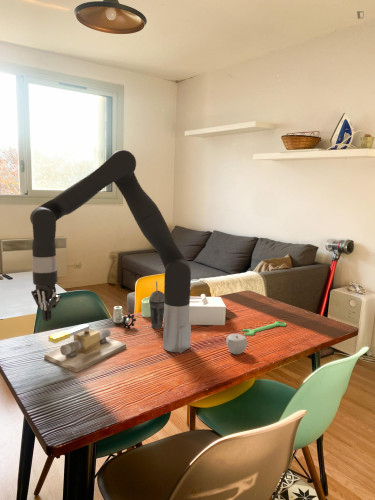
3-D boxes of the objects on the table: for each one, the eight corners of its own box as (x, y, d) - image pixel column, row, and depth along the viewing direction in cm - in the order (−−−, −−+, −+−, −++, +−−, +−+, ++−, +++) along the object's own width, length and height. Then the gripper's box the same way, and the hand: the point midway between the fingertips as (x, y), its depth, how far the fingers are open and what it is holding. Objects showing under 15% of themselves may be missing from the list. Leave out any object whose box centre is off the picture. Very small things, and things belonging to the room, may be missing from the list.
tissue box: (224, 325, 164) (226, 301, 162) (167, 325, 162) (168, 300, 160) (219, 314, 178) (220, 292, 176) (167, 313, 176) (167, 291, 174)
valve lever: (85, 330, 132) (85, 322, 132) (91, 332, 130) (91, 324, 130) (48, 344, 119) (48, 336, 119) (54, 347, 118) (54, 338, 117)
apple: (233, 359, 131) (234, 341, 130) (220, 350, 138) (221, 333, 137) (251, 355, 135) (252, 337, 134) (238, 346, 142) (239, 330, 141)
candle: (147, 318, 168) (148, 300, 167) (139, 315, 171) (139, 298, 169) (154, 315, 172) (154, 298, 171) (146, 313, 175) (146, 296, 174)
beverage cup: (168, 325, 160) (169, 280, 157) (160, 331, 154) (161, 284, 151) (153, 322, 163) (154, 278, 160) (145, 327, 157) (145, 281, 154)
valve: (108, 321, 163) (122, 330, 153) (108, 307, 162) (122, 315, 152) (122, 319, 167) (136, 327, 157) (122, 304, 166) (136, 312, 156)
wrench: (238, 334, 156) (247, 338, 152) (238, 330, 156) (247, 334, 152) (279, 322, 170) (288, 326, 166) (279, 318, 170) (289, 322, 166)
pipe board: (126, 347, 137) (126, 328, 136) (76, 372, 118) (76, 350, 117) (95, 337, 146) (95, 318, 144) (44, 358, 126) (43, 337, 125)
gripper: (67, 270, 121) (69, 321, 124) (42, 264, 128) (44, 313, 131) (48, 274, 115) (50, 327, 118) (22, 268, 122) (24, 319, 125)
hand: (47, 320), depth 125 cm, fingers closed
